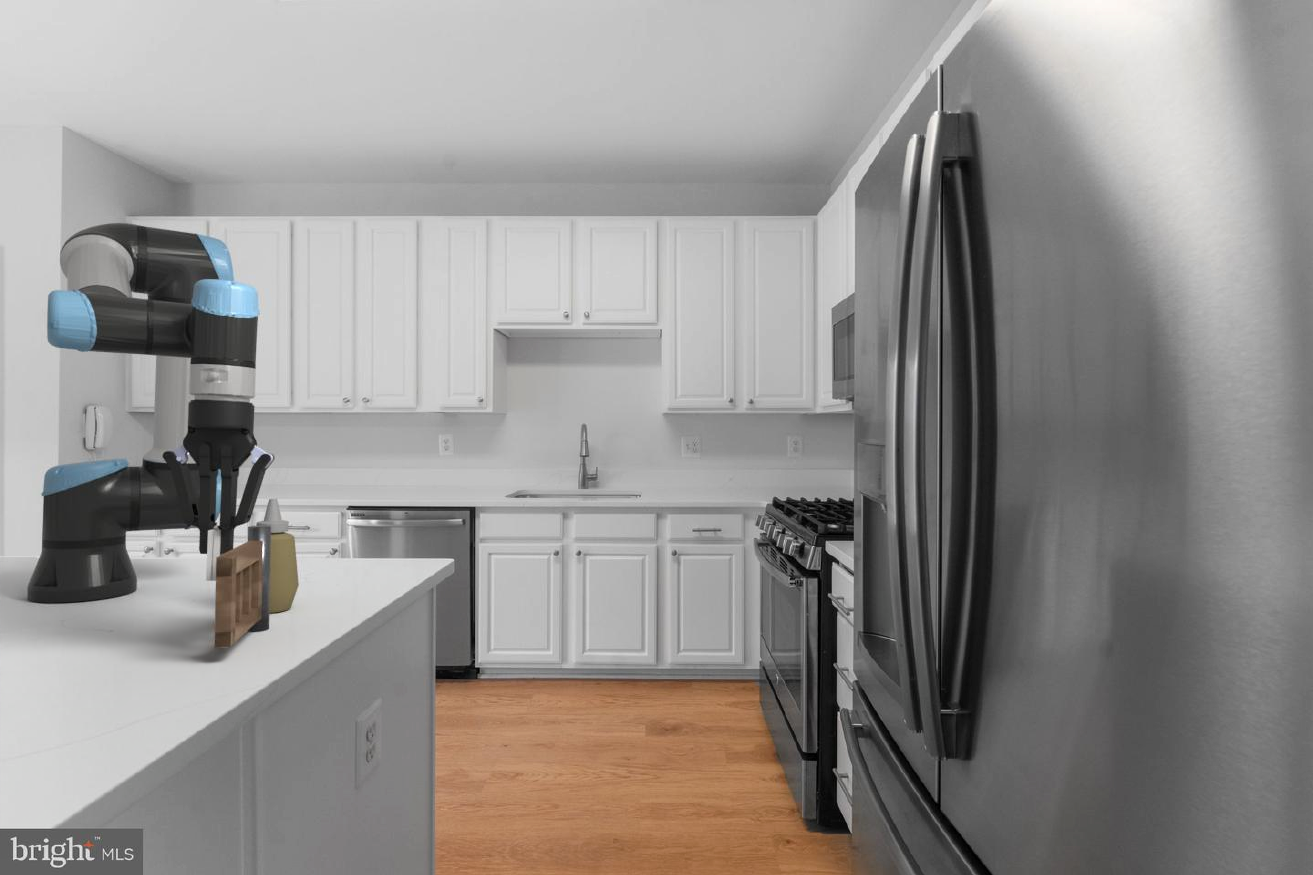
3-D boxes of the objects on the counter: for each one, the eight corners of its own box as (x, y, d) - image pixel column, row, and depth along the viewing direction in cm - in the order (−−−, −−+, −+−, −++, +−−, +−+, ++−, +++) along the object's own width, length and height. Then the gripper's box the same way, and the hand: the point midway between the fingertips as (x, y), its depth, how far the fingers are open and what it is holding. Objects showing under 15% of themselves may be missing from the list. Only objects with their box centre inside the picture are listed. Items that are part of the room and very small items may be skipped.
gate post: (244, 628, 109) (246, 526, 109) (266, 625, 111) (268, 524, 111) (247, 632, 107) (249, 528, 107) (271, 629, 108) (273, 527, 109)
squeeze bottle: (275, 617, 116) (277, 502, 116) (230, 614, 118) (232, 500, 118) (309, 606, 124) (311, 498, 124) (267, 603, 125) (269, 496, 126)
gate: (214, 647, 92) (216, 557, 92) (247, 619, 107) (248, 540, 107) (230, 647, 93) (232, 557, 93) (261, 618, 107) (262, 540, 107)
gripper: (155, 395, 93) (147, 584, 93) (267, 400, 96) (260, 583, 96) (178, 398, 100) (171, 573, 100) (282, 403, 103) (276, 573, 103)
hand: (215, 578), depth 98 cm, fingers closed
